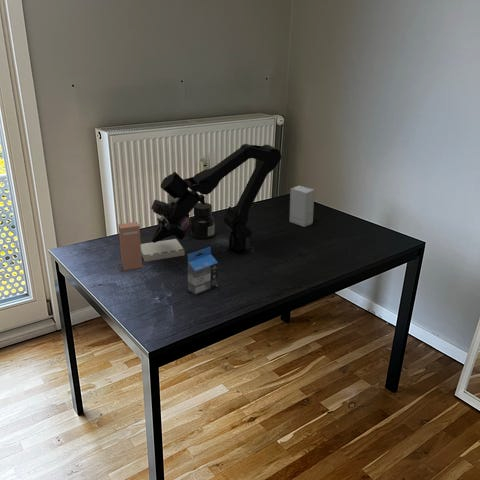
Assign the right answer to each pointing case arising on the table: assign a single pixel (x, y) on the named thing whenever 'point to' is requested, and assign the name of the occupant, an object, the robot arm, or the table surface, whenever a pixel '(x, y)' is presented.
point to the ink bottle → (202, 221)
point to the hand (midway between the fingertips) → (152, 241)
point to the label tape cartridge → (202, 271)
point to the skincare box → (301, 205)
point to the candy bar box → (185, 222)
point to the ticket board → (161, 250)
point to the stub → (130, 245)
